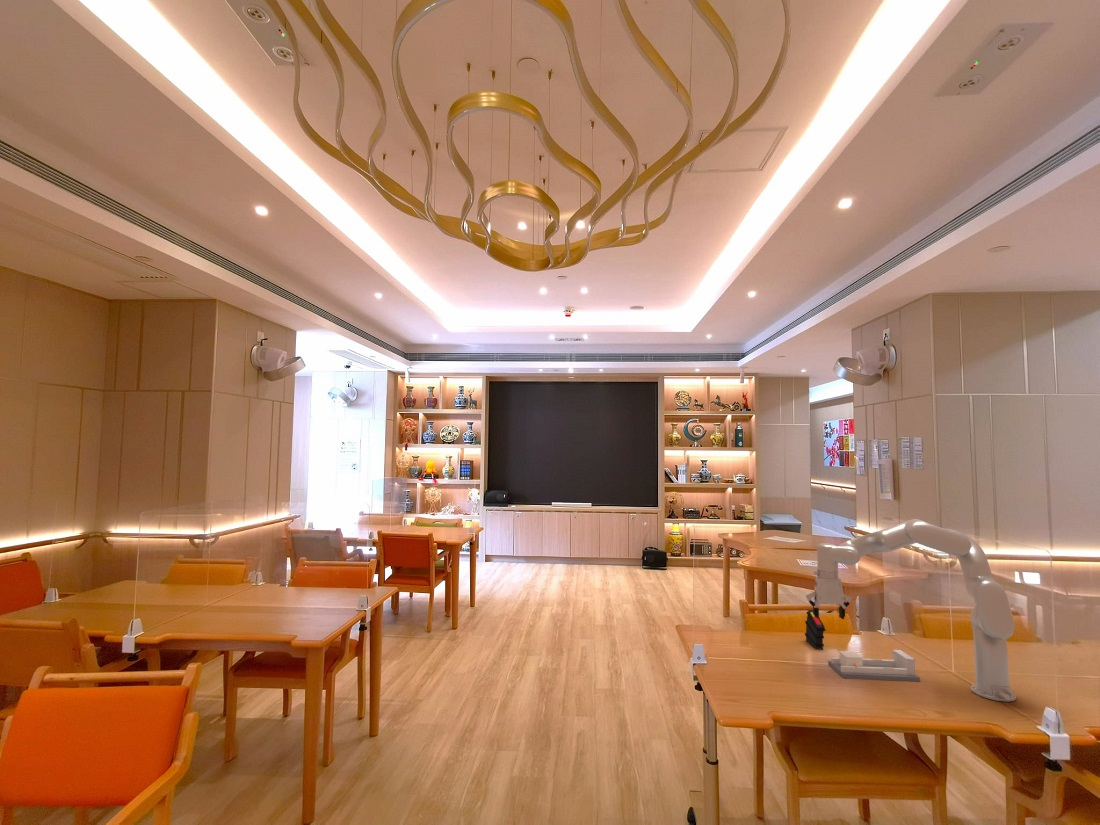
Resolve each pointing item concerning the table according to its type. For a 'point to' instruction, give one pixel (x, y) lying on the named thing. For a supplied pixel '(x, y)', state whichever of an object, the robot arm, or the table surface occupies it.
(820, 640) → the black ridged block
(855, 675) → the board
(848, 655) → the block
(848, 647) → the table surface
